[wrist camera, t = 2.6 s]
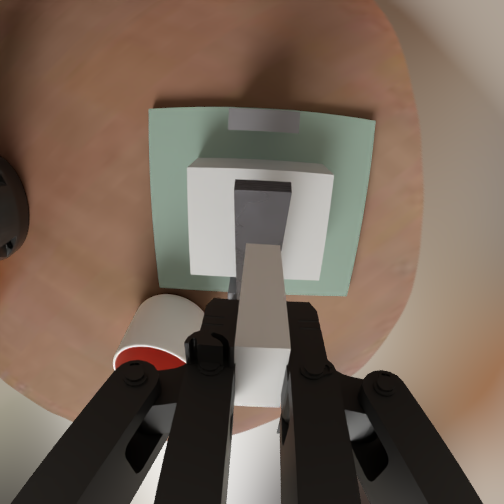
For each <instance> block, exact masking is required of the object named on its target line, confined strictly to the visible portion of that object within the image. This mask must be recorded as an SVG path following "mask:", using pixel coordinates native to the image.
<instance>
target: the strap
mask: <svg viewBox="0 0 504 504" xmlns="http://www.w3.org/2000/svg"><path fill="white" fill-rule="evenodd" d="M291 195H292V187H291V182H281V181H264V180H242V179H235V185H234V214H235V253H236V287H237V300H240V292H241V283H242V275H243V266H244V257H245V249H246V243H250V244H267V245H280V250H282V245H283V239H284V234H285V228H286V223H287V217H288V212H289V206H290V200H291Z"/></svg>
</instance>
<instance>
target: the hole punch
mask: <svg viewBox="0 0 504 504" xmlns="http://www.w3.org/2000/svg"><path fill="white" fill-rule="evenodd" d="M375 122H376V121H373V120H367V119H361V118H355V117H348V116H341V115H333V114H325V113H316V112H306V111H296V110H283V109H268V108H247V107H178V108H157V109H149V162H150V186H151V203H152V218H153V230H154V242H155V252H156V262H157V271H158V280H159V287H160V288H174V289H189V290H204V291H221V292H228V299H234V300H237V287H236V253H235V214H234V185H235V179H242V180H264V181H281V182H291V187H292V195H291V200H290V206H289V212H288V217H287V223H286V228H285V234H284V239H283V245H282V250H281V258H282V267H283V276H284V286H285V294H286V295H318V296H347V293H348V288H349V284H350V280H351V275H352V270H353V266H354V261H355V256H356V251H357V246H358V241H359V236H360V230H361V225H362V219H363V213H364V207H365V201H366V194H367V188H368V181H369V174H370V166H371V159H372V150H373V142H374V132H375Z"/></svg>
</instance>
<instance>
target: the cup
mask: <svg viewBox="0 0 504 504" xmlns="http://www.w3.org/2000/svg"><path fill="white" fill-rule="evenodd" d="M203 317H204V312H203V311H202V310H201V309H200V307H198V306H197V305H196V304H195V303H193V302H192V301H190V300H188V299H186V298H184V297H181V296H178V295H172V294H161V295H156V296H153V297H150V298H148V299H147V300H145V301H144V302H143V303H142V304H141V305H140V306H139V308H138V309H137V311H136V313H135V315H134V317H133V319H132V321H131V323H130V325H129V327H128V329H127V331H126V333H125V335H124V337H123V339H122V341H121V343H120V345H119V347H118V349H117V351H116V353H115V355H114V358H113V368H114V371H115V370H116V369H117V368H118V367H119V366H120V365H121V364H123V363H126V362H128V361H132V360H142V361H147V362H149V363H151V364H152V365H154V366H155V368H156V369H157V370H166V369H173V368H177V367H180V366H182V365H184V364H186V356H185V347H184V342H185V340H186V339H187V337H188V336H190V335H191V334H192V333H194V332H197V331H200V328H201V325H202V320H203Z"/></svg>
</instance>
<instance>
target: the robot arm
mask: <svg viewBox="0 0 504 504" xmlns="http://www.w3.org/2000/svg"><path fill="white" fill-rule="evenodd" d="M28 225H29V212H28V204H27V199H26V195H25V191H24V188H23V186H22V183H21V181H20V179H19V177H18V175H17V173H16V172H15V170H14V169H13V167H12V166H11V165H10V164H9V163H8V162H7V161H6V160H5V159H4V158H2V157H0V260H3V259H6V258H8V257H9V256H11V255H12V254H13V253H14V252H16V251H17V250H18V249H19V248H20V247H21V246H22V244H23V243H24V241H25V238H26V235H27V232H28ZM184 347H185V356H186V364H184V365H182V366H180V367H177V368H173V369H166V370H157V369H156V368H155V366H154V365H152V364H151V363H149V362H147V361H142V360H132V361H128V362H126V363H123V364H121V365H120V366H119V367H118V368H117V369H116V370H115V371H114V372H113V373H112V375H111V376H110V377H109V378H108V379H107V381H106V382H105V383H104V384H103V386H102V387H101V388H100V389H99V390H98V392H97V393H96V394H95V395H94V397H93V398H92V399H91V400H90V402H89V403H88V404H87V405H86V407H85V408H84V409H83V410H82V412H81V413H80V414H79V415H78V417H77V418H76V419H75V420H74V422H73V423H72V424H71V425H70V427H69V428H68V429H67V430H66V432H65V433H64V434H63V436H62V437H61V438H60V439H59V441H58V442H57V443H56V445H55V446H54V447H53V449H52V450H51V451H50V452H49V454H48V455H47V456H46V458H45V459H44V460H43V461H42V463H41V464H40V465H39V467H38V468H37V469H36V471H35V472H34V473H33V475H32V476H31V477H30V478H29V480H28V481H27V482H26V484H25V485H24V487H23V488H22V489H21V491H20V492H19V493H18V495H17V496H16V497H15V499H14V500H13V501H12V503H11V504H130V503H131V501H132V499H133V497H134V496H135V494H136V492H137V491H138V489H139V487H140V485H141V484H142V481H143V480H144V478H145V477H146V475H147V473H148V471H149V470H150V468H151V466H152V464H153V463H154V461H155V459H156V457H157V456H158V454H159V452H160V450H161V449H162V447H163V445H164V443H165V442H166V440H167V438H168V436H169V438H168V442H167V447H166V451H165V455H164V459H163V464H162V468H161V473H160V477H159V482H158V486H157V491H156V496H155V501H154V504H226V499H227V487H228V476H229V464H230V452H231V440H232V428H233V409H234V405H237V406H253V407H280V404H281V417H280V422H279V426H278V430H277V433H280V465H281V504H361V500H360V493H359V487H358V481H357V476H358V479H359V481H360V483H361V485H362V487H363V489H364V492H365V494H366V496H367V498H368V500H369V502H370V504H483V503H482V501H481V500H480V498H479V496H478V495H477V493H476V491H475V490H474V488H473V486H472V485H471V483H470V482H469V480H468V478H467V477H466V475H465V474H464V472H463V471H462V469H461V467H460V466H459V464H458V463H457V461H456V459H455V458H454V456H453V455H452V453H451V452H450V450H449V449H448V447H447V445H446V444H445V443H444V441H443V440H442V438H441V436H440V435H439V433H438V432H437V430H436V429H435V427H434V426H433V425H432V423H431V421H430V420H429V419H428V417H427V416H426V414H425V413H424V411H423V410H422V408H421V407H420V405H419V404H418V402H417V401H416V399H415V398H414V397H413V395H412V394H411V392H410V391H409V389H408V388H407V387H406V385H405V384H404V382H403V381H402V380H401V379H400V378H399V377H398V376H397V375H395V374H392V373H391V372H388V371H383V370H380V371H373V372H371V373H369V374H368V375H367V376H366V377H365V378H364V379H359V378H354V377H350V376H347V375H344V374H341V373H340V372H338V371H336V369H335V367H334V365H333V364H332V363H331V362H329V361H328V359H327V355H326V351H325V346H324V342H323V337H322V332H321V330H320V324H319V319H318V315H317V311H316V310H315V308H314V307H313V306H312V305H311V304H310V303H309V302H287V301H286V295H285V286H284V276H283V267H282V258H281V250H280V245H267V244H250V243H246V249H245V257H244V266H243V275H242V283H241V292H240V300H234V299H219V298H214V299H213V300H212V301H211V302H210V303H209V304H208V305H207V306H206V309H205V313H204V317H203V320H202V325H201V328H200V331H197V332H194V333H192V334H191V335H190V336H188V337H187V339H186V340H185V342H184Z"/></svg>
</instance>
